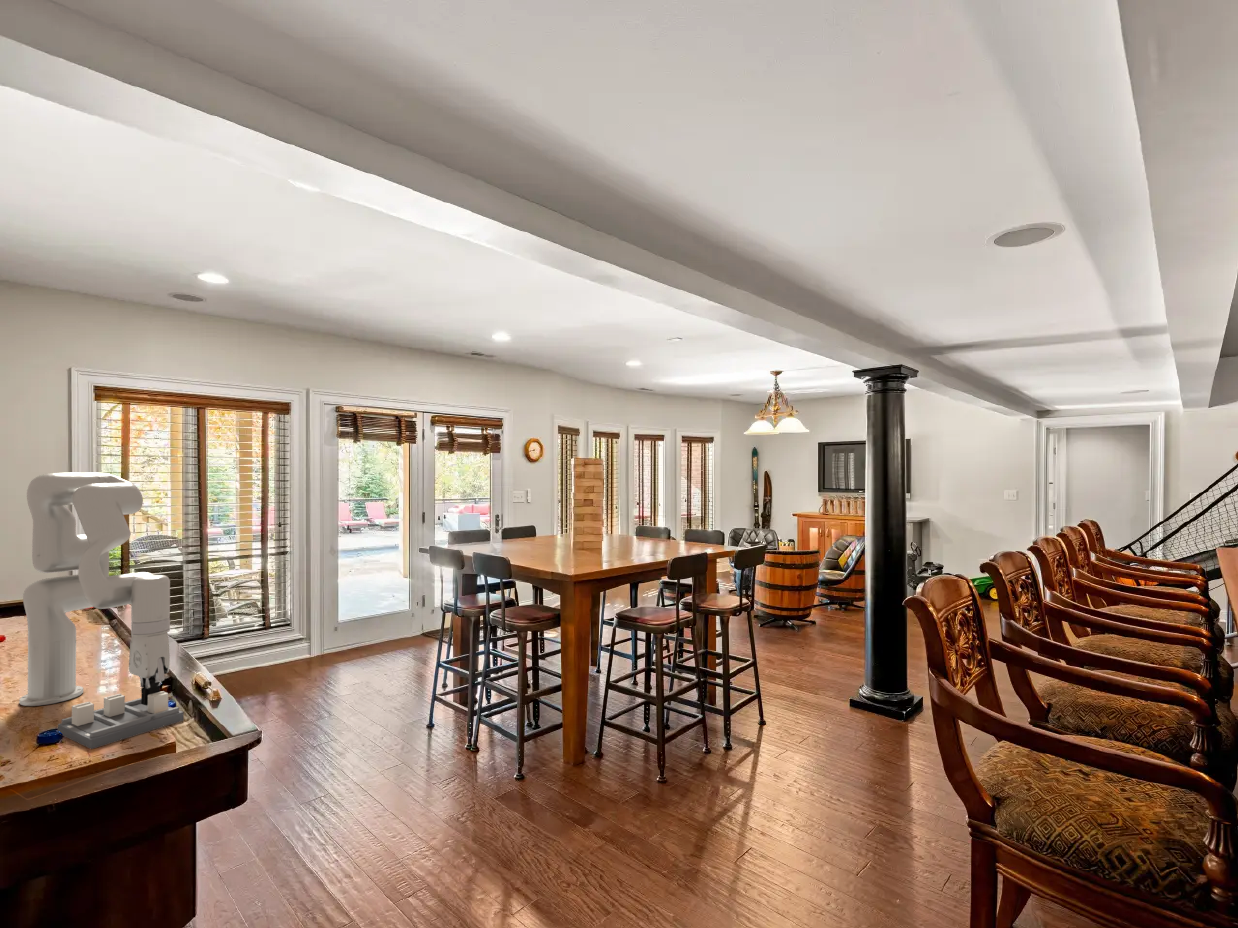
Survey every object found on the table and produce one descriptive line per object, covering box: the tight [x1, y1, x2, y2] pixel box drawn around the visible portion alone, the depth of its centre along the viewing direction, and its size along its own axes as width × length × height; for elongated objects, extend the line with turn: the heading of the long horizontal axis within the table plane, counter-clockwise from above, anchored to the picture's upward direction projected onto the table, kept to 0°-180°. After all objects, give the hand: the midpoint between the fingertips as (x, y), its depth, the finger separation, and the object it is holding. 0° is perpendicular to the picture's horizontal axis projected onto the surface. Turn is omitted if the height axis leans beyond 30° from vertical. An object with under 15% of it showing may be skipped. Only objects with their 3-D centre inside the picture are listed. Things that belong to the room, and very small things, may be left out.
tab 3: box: [148, 690, 169, 714], centre depth 151 cm, size 3×3×4 cm
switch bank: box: [57, 697, 185, 750], centre depth 147 cm, size 17×18×3 cm
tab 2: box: [103, 693, 126, 717], centre depth 149 cm, size 3×3×4 cm
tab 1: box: [71, 701, 95, 726], centre depth 144 cm, size 3×3×4 cm
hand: (150, 702), depth 153 cm, fingers closed
